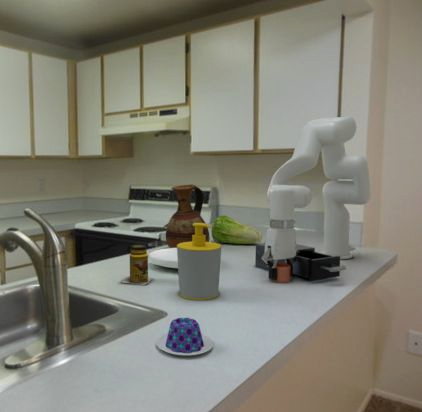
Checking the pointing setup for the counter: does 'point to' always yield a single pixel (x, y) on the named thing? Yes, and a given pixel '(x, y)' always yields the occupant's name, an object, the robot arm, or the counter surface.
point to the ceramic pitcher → (185, 216)
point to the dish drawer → (317, 266)
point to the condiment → (138, 266)
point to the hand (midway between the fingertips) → (280, 277)
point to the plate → (164, 257)
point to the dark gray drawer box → (261, 264)
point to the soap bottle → (199, 266)
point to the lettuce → (234, 232)
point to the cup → (283, 273)
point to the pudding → (184, 338)
